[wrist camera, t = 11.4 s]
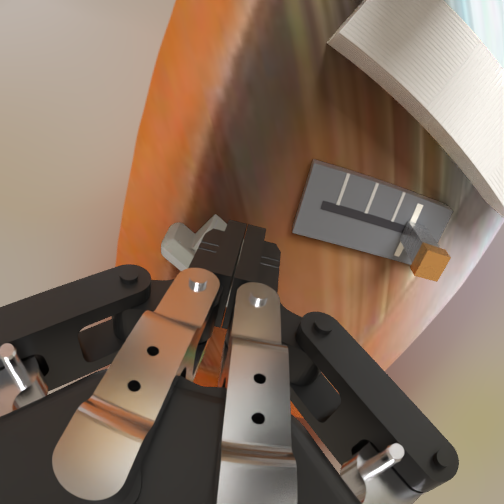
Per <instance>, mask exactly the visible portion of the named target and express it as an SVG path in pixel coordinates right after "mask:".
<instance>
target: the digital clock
mask: <svg viewBox="0 0 504 504" xmlns="http://www.w3.org/2000/svg"><path fill="white" fill-rule="evenodd" d="M226 226H227V224H226V223H225V222H224V221H223V220H222V219H221V218H220V217H219V216H217V215H216V214H215V215H214V216H213V217H212V218H211V219H210V220H209V221H208V222H207V223H206V224H205V225H204V226H203V227H202V228H201V229H200V230H199V231H198V232H197V233H196V234H195V233H193V232H192V231H191V230H190V229H189V228H188V227H186V226H185V225H184V224H183V223H174V224H173V225H171V226H170V227H169V229H168V231H167V233H166V235H165V237H164V239H163V241H162V244H161V253H162V255H163V256H164V257H165V258H166V259H167V260H168V261H169V262H171V263H172V264H173V265H174V266H175V267H177V268H178V269H179V270H180V271H183V270H185V269H188V267H189V265H190V263H191V261H192V259H193V257H194V255H195V253H196V251H197V249H198V247H199V245H200V243H201V241H202V239H203V237H204V235H205V233H207V232H208V231H210V230H212V229H213V228H214V229H218V230H222V231H225V229H226ZM243 242H244V239H243ZM242 246H243V243H242ZM241 249H242V247H241ZM240 253H241V251H240ZM239 257H240V255H239ZM232 283H233V282H232ZM231 287H232V286H231ZM230 292H231V290H230ZM229 296H230V293H229ZM228 300H229V297H228ZM227 305H228V301H227V304H226V307H227Z"/></svg>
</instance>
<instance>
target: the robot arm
mask: <svg viewBox="0 0 504 504" xmlns="http://www.w3.org/2000/svg"><path fill="white" fill-rule="evenodd" d="M246 226H247V224H245V223H241V222H237V221H233V220H229V221H228V224H227V226H226V229H225V231H222V230H218V229H214V228H213V229H212V230H210V231H208V232H207V233H205V235H204V237H203V239H202V241H201V243H200V245H199V247H198V249H197V251H196V253H195V255H194V257H193V259H192V261H191V263H190V265H189V267H188V269H185V270H183V271H181V272H180V273H179V274H178V275H177V276H176V278H175V279H173V280H167V281H161V280H151V276H150V274H149V272H148V271H147V270H146V269H144V268H142V267H140V266H137V265H121V266H118V267H115V268H112V269H109V270H106V271H103V272H100V273H97V274H94V275H91V276H88V277H85V278H82V279H79V280H76V281H74V282H71V283H68V284H65V285H62V286H59V287H56V288H53V289H50V290H48V291H45V292H42V293H39V294H36V295H33V296H31V297H28V298H25V299H23V300H19V301H17V302H14V303H11V304H8V305H6V306H3V307H0V504H413V503H414V502H415V501H416V500H417V499H418V498H419V497H420V496H421V495H422V494H424V493H426V492H428V491H430V490H432V489H434V488H436V487H437V486H439V485H441V484H443V483H445V482H447V481H448V480H450V479H451V478H453V477H454V475H455V474H456V472H457V470H458V465H459V460H458V455H457V453H456V451H455V449H454V447H453V446H452V445H451V444H450V443H449V442H448V440H447V439H446V438H445V437H444V436H443V435H442V434H441V433H440V432H439V430H438V429H437V428H436V427H435V426H434V425H433V424H432V423H431V422H430V421H429V419H428V418H427V417H426V416H425V415H424V414H423V413H422V412H421V411H420V410H419V409H418V408H417V406H416V405H415V404H414V403H413V402H412V401H411V400H410V399H409V398H408V397H407V396H406V395H405V393H404V392H403V391H402V390H401V389H400V388H399V387H398V386H397V385H396V384H395V382H394V381H393V380H392V379H391V378H390V377H389V376H388V375H387V374H386V373H385V372H384V371H383V369H382V368H381V367H380V366H379V365H378V364H377V363H376V362H375V361H374V360H373V359H372V358H371V357H370V356H369V354H368V353H367V352H366V351H365V350H364V349H363V348H362V347H361V346H360V345H359V344H358V343H357V342H356V341H355V339H354V338H353V337H352V336H351V335H350V334H349V333H348V332H347V331H346V330H345V329H344V328H343V327H342V326H341V325H340V324H339V322H338V321H337V320H335V319H334V318H333V317H331V316H330V315H327V314H325V313H321V312H310V313H307V314H305V315H304V316H303V317H300V316H298V315H296V314H294V313H292V312H290V311H289V310H287V309H286V308H285V307H284V306H283V305H282V304H281V303H280V298H279V295H278V294H277V289H278V278H279V266H280V253H281V252H280V250H279V248H278V247H277V245H276V244H274V243H270V242H266V241H264V238H265V232H266V229H265V228H261V227H257V226H253V225H249V224H248V228H247V231H246V235H245V239H244V234H245V230H246ZM243 239H244V242H243ZM242 243H243V246H242ZM241 247H242V249H241ZM240 251H241V253H240ZM239 255H240V257H239ZM232 282H233V283H232ZM231 286H232V287H231ZM230 290H231V292H230ZM229 293H230V296H229ZM228 297H229V300H228ZM227 301H228V305H227V309H226V313H225V318H224V322H223V326H222V328H224V329H227V333H226V337H225V341H224V345H223V351H222V358H221V365H220V373H219V380H218V387H203V386H200V385H197V384H195V383H193V380H194V378H195V375H196V373H197V370H198V368H199V365H200V363H201V360H202V358H203V355H204V353H205V350H206V348H207V345H208V342H209V338H210V337H211V335H212V332H213V329H214V326H216V327H221V323H222V319H223V316H224V312H225V308H226V304H227ZM110 316H112V319H111V320H108V321H106V322H103V323H101V324H98V325H96V326H94V327H91V328H88V329H86V330H83V331H81V332H80V330H81V329H82V328H84V327H85V326H88V325H90V324H93V323H95V322H98V321H100V320H103V319H105V318H108V317H110ZM109 364H111V365H110V367H109V368H108V369H105V370H101V371H98V372H95V373H93V374H91V375H89V376H87V377H84V378H82V379H80V380H78V381H76V382H74V383H72V384H70V385H68V386H66V387H64V388H62V389H59V390H58V391H55V392H53V393H51V394H49V395H47V394H48V391H50V390H53V389H55V388H57V387H60V386H62V385H64V384H66V383H69V382H71V381H73V380H76V379H78V378H80V377H83V376H85V375H87V374H89V373H91V372H94V371H96V370H98V369H100V368H102V367H105V366H107V365H109ZM321 372H322V373H323V374H324V375H325V377H326V378H327V379H328V380H329V381H330V383H331V384H332V385H333V386H334V387H335V389H336V390H337V391H338V392H337V391H336V390H335V389H334V388H333V386H332V385H331V384H330V383H329V382H328V380H327V379H326V378H325V377H324V376H323V374H322V373H321ZM338 393H339V394H340V395H339V394H338ZM290 400H291V401H292V403H293V404H294V405H295V407H296V408H297V409H298V411H299V412H300V413H301V415H302V416H303V417H304V419H305V420H306V421H307V423H308V424H309V425H310V426H311V428H312V429H313V430H314V431H315V433H316V434H317V435H318V437H319V438H320V439H321V441H322V442H323V443H324V444H325V445H326V446H327V448H328V449H329V451H330V452H331V453H332V454H333V456H334V457H335V458H336V459H337V461H338V462H339V463H340V464H341V466H342V467H341V470H340V475H339V473H338V472H337V471H336V470H335V468H334V467H333V465H332V464H331V463H330V461H329V460H328V459H327V457H326V456H325V454H324V453H323V452H322V450H321V449H320V448H319V446H318V445H317V444H316V442H315V441H314V439H313V438H312V437H311V435H310V434H309V433H308V431H307V430H306V428H305V427H304V426H303V425H302V424H301V423H300V422H299V421H298V420H297V419H296V418H295V417H294V416H293V415H291V408H290Z"/></svg>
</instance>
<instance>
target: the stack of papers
mask: <svg viewBox="0 0 504 504" xmlns="http://www.w3.org/2000/svg"><path fill="white" fill-rule="evenodd" d="M327 44H329V45H330V46H331V47H333V48H334V49H335V50H337V51H338V52H339V53H341V54H342V55H343V56H345V57H346V58H347V59H349V60H350V61H351V62H352V63H354V64H355V65H356V66H357V67H359V68H360V69H361V70H362V71H363V72H365V73H366V74H367V75H368V76H369V77H371V78H372V79H373V80H374V81H375V82H376V83H378V84H379V85H380V86H381V87H382V88H383V89H384V90H385V91H387V92H388V93H389V94H390V95H391V96H392V97H393V98H394V99H395V100H396V101H397V102H398V103H400V104H401V105H402V106H403V107H404V108H405V109H406V110H407V111H408V112H409V113H410V114H411V115H412V116H413V117H414V118H415V119H416V120H417V121H418V122H419V123H420V124H421V125H422V126H423V127H424V128H425V129H426V130H427V132H428V133H429V134H430V135H431V136H432V137H433V138H434V139H435V140H436V141H437V142H438V143H439V145H440V146H441V147H442V148H443V149H444V150H445V151H446V152H447V154H448V155H449V156H450V157H451V158H452V159H453V161H454V162H455V163H456V164H457V165H458V167H459V168H460V169H461V170H462V172H463V173H464V174H465V175H466V177H467V178H468V179H469V180H470V182H471V183H472V184H473V185H474V187H475V188H476V189H477V191H478V192H479V193H480V195H481V196H482V197H483V199H484V200H485V201H486V202H487V203H488V204H489V205H490V206H491V207H492V208H494V210H495V211H497V212H498V213H499V214H500V215H501V216H502V217H503V218H504V69H503V68H502V67H501V65H500V64H499V62H498V61H497V60H496V59H495V57H494V56H493V55H492V53H491V52H490V51H489V50H488V48H487V47H486V46H485V45H484V44H483V42H482V41H481V40H480V39H479V38H478V36H477V35H476V34H475V33H474V32H473V31H472V30H471V28H470V27H469V26H468V25H467V24H466V23H465V22H464V21H463V20H462V19H461V18H460V17H459V16H458V15H457V13H456V12H455V11H454V10H453V9H452V8H451V7H450V6H449V5H448V4H447V3H446V2H445V1H443V0H363V1H362V2H361V3H360V5H359V6H358V7H357V8H356V9H355V10H354V11H353V12H352V14H351V15H350V16H349V17H348V18H347V19H346V20H345V22H344V23H343V24H342V25H341V26H340V27H339V29H338V30H337V31H336V32H335V33H334V34H333V36H332V37H331V38H330V39H329V40H328V42H327Z"/></svg>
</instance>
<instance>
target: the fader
mask: <svg viewBox="0 0 504 504" xmlns="http://www.w3.org/2000/svg"><path fill="white" fill-rule="evenodd" d="M400 241H401V243H402V245H403V247H404V249H405V251H406V252H407V254H408V256H409V258H410V260H411V262H412V264H411V266H410V268H411V270H412V272H413V274H414V276H418V277H422V278H425V279H429V280H433V281H436V282H437V281H438V279H439V277H440V276H441V274H442V272H443V271H444V269H445V267H446V265H447V264H448V262H449V260H450V258H451V257H450V256H449V254H448V253H447V251H446V250H445V249H442V248H440V247H439V245H438V244H437V242H436V241H435V239H434V238H433V236H432V235H431V233H430V232H429V231H428V229H427V228H426V227H425V226H422V225H419V224H417V223H414V222H411V221H408V222H407V225H406V227H405V229H404V231H403V233H402V235H401V237H400Z"/></svg>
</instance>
